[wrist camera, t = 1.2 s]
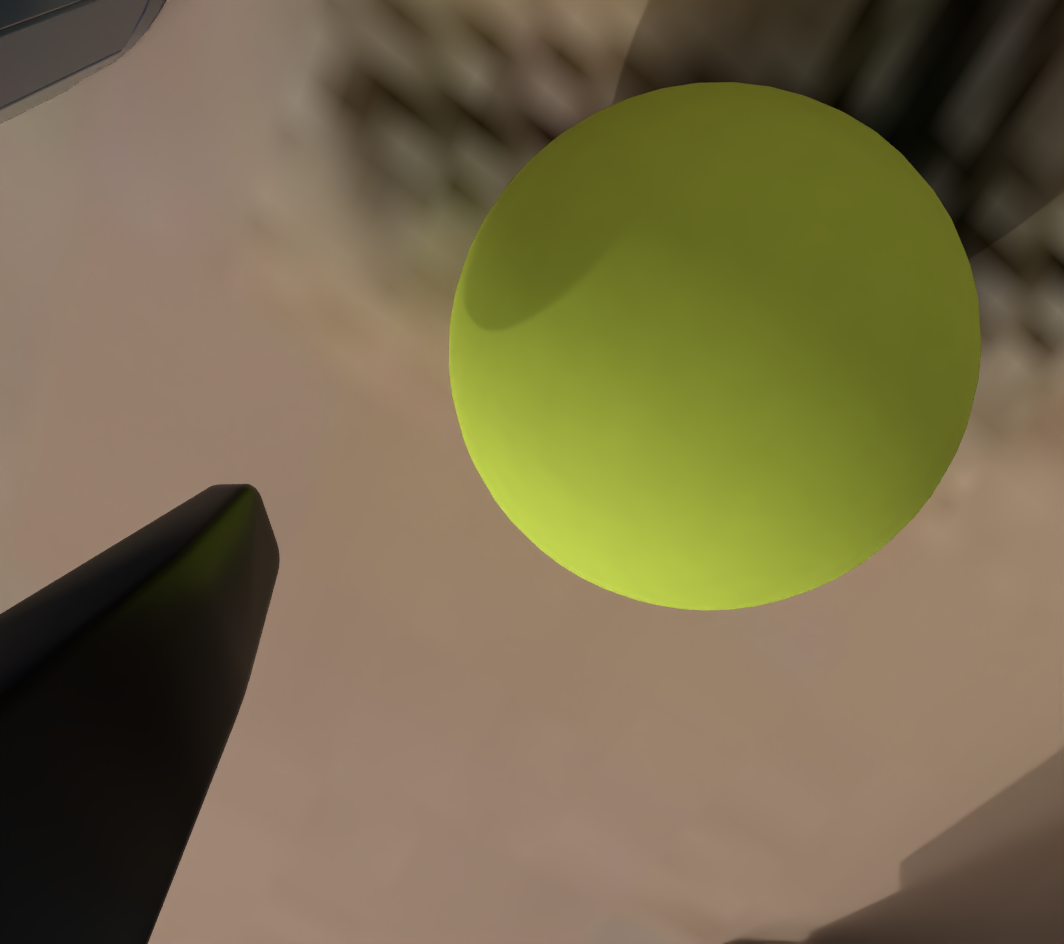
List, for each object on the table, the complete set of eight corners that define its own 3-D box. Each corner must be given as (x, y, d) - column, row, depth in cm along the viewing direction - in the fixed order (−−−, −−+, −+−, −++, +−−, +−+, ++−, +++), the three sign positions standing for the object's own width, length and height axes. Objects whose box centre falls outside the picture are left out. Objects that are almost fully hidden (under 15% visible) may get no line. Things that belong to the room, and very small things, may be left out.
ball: (898, 424, 15) (997, 731, 10) (520, 434, 16) (448, 715, 11) (948, 5, 12) (1132, 168, 7) (465, 51, 13) (326, 219, 8)
